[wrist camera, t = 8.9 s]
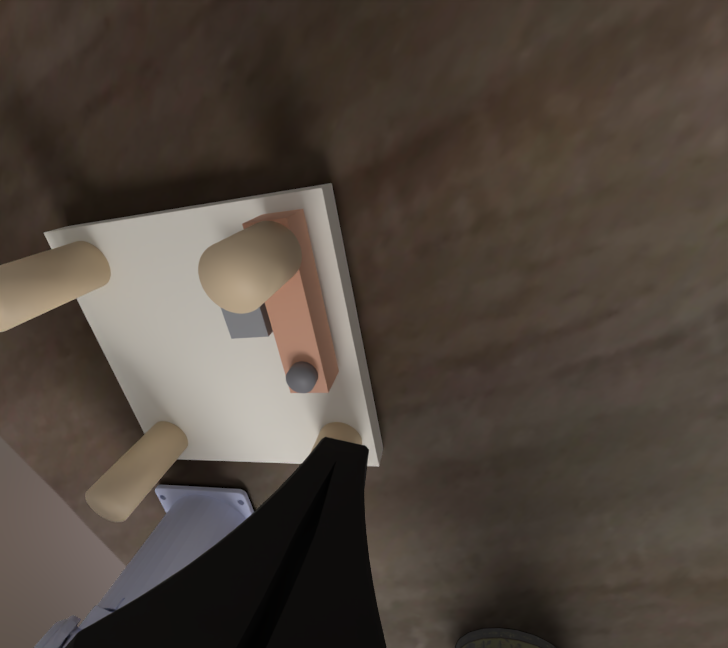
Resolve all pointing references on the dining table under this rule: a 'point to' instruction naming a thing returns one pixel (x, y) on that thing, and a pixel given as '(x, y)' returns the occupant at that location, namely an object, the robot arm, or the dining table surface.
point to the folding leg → (276, 292)
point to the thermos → (501, 639)
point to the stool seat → (198, 340)
